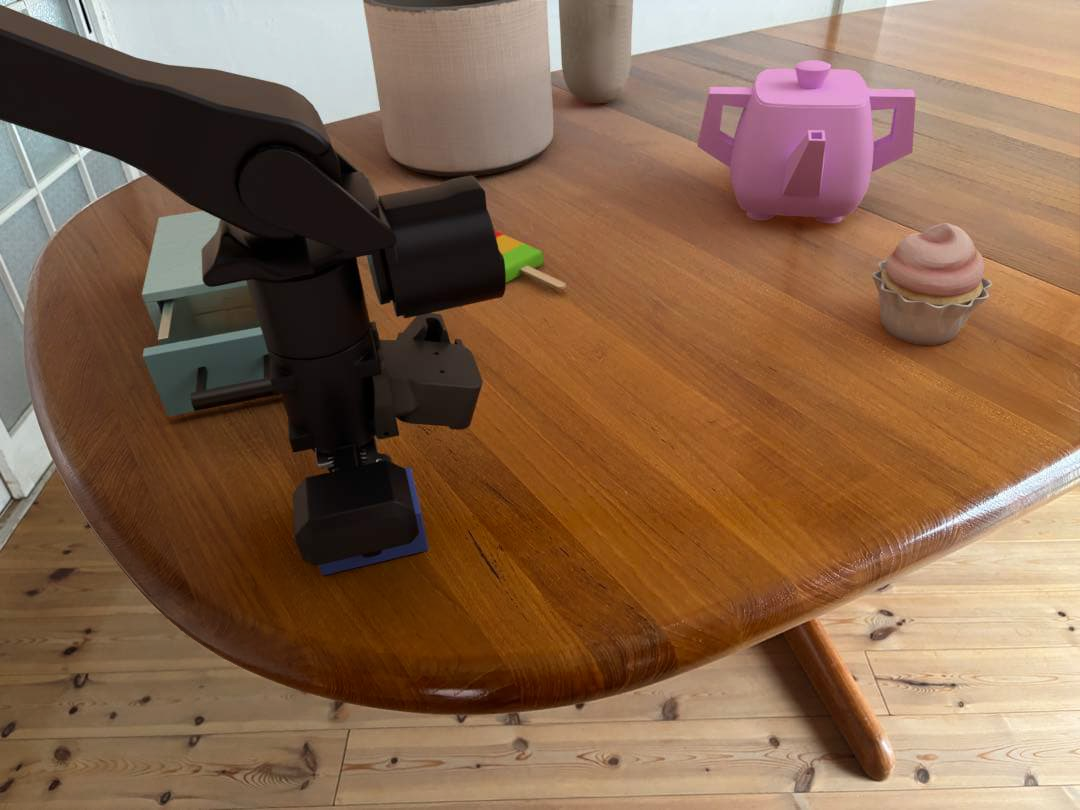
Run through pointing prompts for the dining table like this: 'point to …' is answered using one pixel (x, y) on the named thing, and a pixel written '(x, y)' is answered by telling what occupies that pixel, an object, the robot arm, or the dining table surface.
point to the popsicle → (523, 261)
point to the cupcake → (931, 285)
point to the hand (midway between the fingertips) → (369, 528)
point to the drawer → (209, 352)
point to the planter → (462, 82)
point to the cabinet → (178, 261)
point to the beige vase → (596, 47)
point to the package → (415, 547)
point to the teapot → (806, 139)
